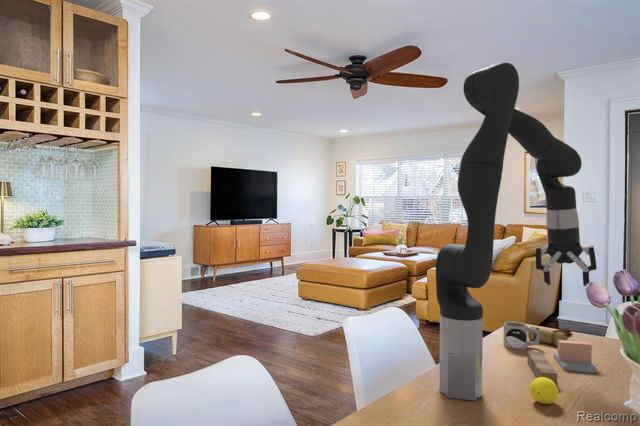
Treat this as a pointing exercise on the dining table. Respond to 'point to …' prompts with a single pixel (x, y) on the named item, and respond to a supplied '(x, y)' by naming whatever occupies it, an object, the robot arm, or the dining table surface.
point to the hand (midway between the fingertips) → (566, 284)
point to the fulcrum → (575, 356)
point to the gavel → (550, 335)
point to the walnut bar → (541, 366)
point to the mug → (518, 335)
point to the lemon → (544, 390)
